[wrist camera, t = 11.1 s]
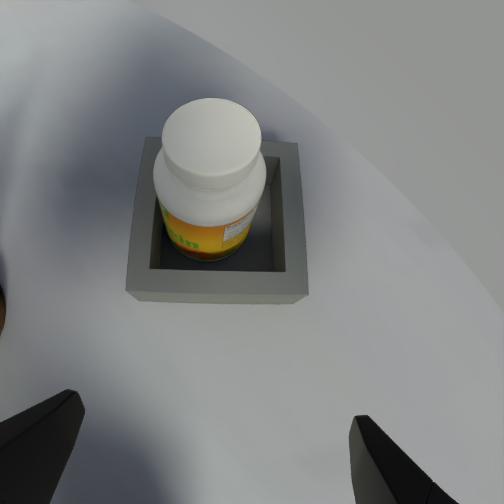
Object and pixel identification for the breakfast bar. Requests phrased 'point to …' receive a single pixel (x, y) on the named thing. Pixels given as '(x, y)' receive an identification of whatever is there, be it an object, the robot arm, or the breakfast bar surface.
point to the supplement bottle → (209, 177)
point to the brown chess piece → (2, 309)
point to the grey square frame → (223, 282)
